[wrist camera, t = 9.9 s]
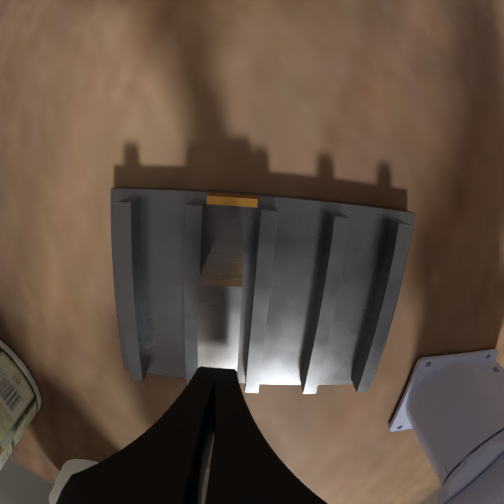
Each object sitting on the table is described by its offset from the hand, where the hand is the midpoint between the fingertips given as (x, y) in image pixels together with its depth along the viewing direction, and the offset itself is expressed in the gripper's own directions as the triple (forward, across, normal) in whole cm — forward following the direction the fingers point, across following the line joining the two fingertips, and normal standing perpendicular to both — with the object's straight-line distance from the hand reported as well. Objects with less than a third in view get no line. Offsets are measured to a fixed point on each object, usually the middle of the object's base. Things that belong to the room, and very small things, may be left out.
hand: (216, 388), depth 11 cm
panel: (+8, 0, 0) cm, 8 cm away
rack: (+9, -2, 0) cm, 9 cm away
